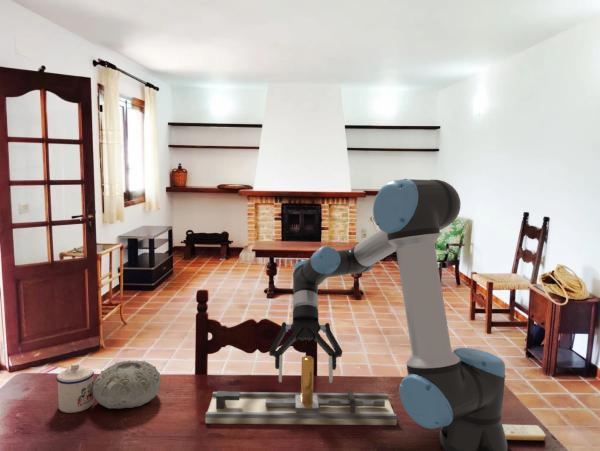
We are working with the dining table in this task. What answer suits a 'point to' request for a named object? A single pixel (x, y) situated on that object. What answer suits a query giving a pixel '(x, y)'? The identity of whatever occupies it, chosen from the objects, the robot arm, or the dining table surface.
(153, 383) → the grey rounded lump
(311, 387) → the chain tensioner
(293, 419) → the rail
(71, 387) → the teacup with lid
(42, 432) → the dining table surface
